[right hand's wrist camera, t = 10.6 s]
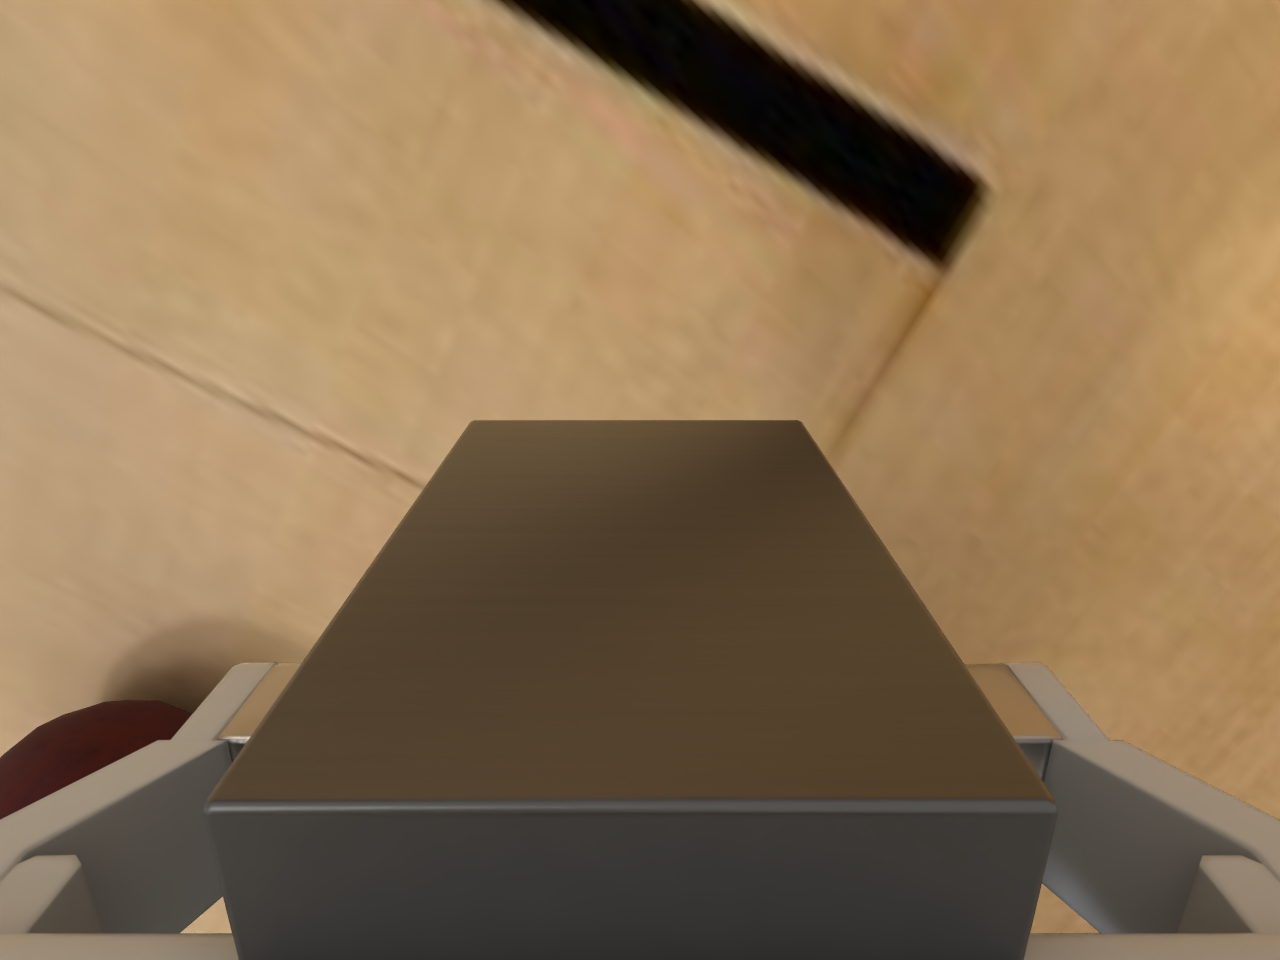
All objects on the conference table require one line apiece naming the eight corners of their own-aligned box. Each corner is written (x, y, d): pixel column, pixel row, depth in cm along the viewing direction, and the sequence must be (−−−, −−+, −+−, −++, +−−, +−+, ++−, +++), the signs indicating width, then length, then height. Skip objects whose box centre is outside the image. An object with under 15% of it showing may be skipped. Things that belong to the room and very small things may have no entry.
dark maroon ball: (296, 829, 29) (195, 1019, 23) (86, 832, 29) (-76, 1022, 23) (258, 657, 27) (131, 815, 20) (27, 661, 27) (-175, 820, 20)
